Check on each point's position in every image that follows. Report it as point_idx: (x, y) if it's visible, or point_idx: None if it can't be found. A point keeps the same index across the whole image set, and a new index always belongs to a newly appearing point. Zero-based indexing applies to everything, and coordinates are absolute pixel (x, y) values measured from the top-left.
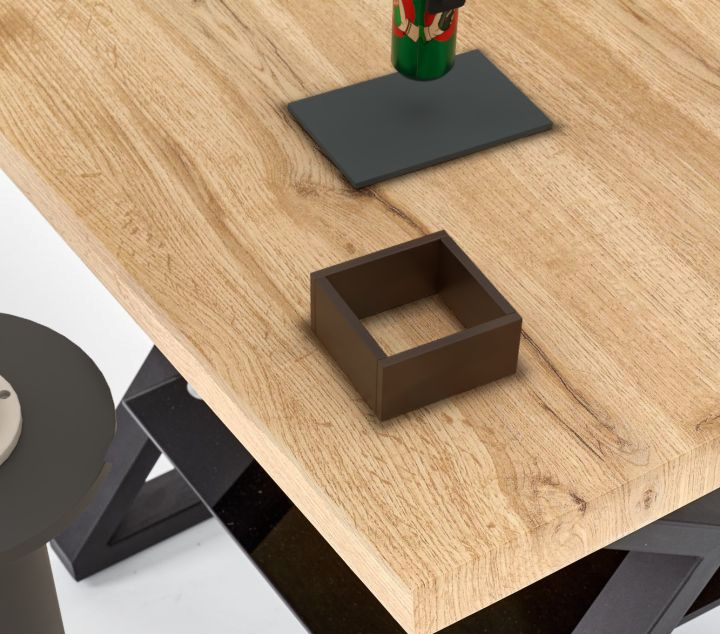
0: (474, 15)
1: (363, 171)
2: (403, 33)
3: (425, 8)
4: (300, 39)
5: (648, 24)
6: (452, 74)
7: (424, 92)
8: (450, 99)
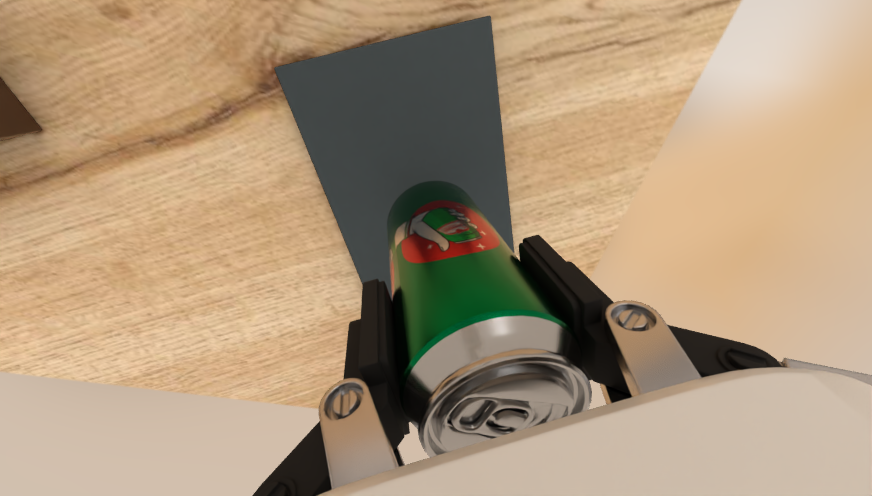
0: None
1: (301, 87)
2: (413, 215)
3: (375, 280)
4: (626, 87)
5: None
6: None
7: None
8: None
